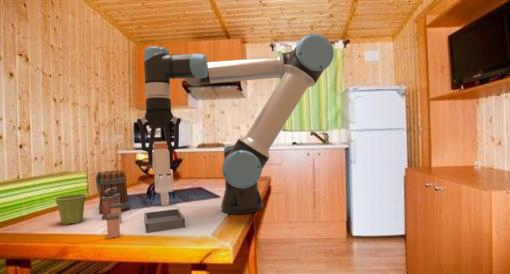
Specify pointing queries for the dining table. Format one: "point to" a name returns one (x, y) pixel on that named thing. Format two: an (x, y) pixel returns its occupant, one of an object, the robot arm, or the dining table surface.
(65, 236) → the dining table surface
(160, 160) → the block
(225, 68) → the robot arm
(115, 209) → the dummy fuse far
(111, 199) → the lighter
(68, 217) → the plant pot
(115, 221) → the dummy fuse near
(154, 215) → the tray
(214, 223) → the dining table surface
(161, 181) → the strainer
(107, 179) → the mug
